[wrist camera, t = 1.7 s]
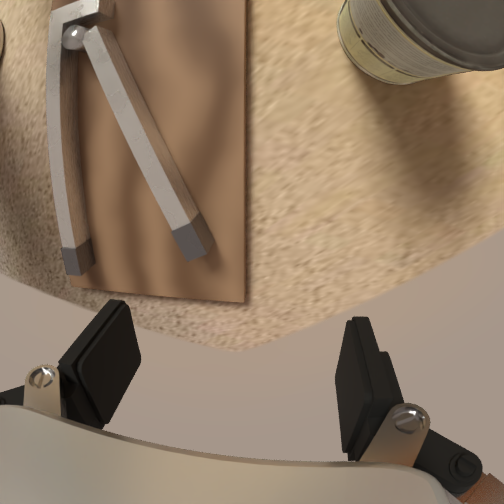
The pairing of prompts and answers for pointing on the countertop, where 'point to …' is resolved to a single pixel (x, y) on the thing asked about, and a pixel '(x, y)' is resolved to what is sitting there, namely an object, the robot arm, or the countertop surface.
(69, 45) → the tongs arm
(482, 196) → the countertop surface
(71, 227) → the tongs fixed arm
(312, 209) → the countertop surface
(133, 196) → the walnut board
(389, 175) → the countertop surface
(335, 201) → the countertop surface
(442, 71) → the coffee can
